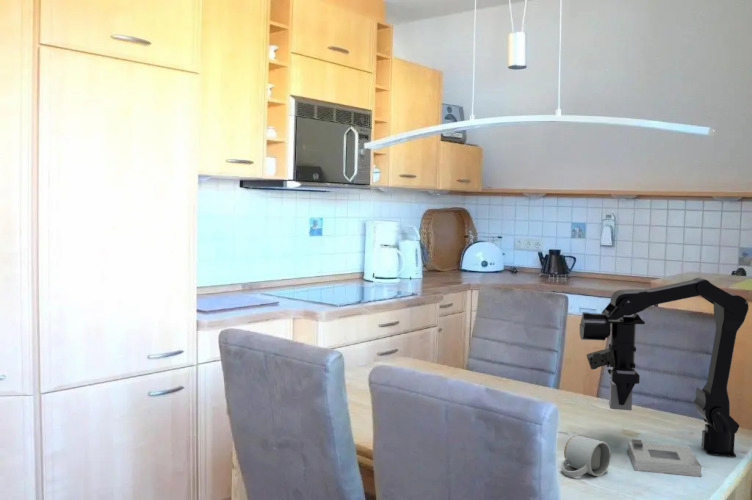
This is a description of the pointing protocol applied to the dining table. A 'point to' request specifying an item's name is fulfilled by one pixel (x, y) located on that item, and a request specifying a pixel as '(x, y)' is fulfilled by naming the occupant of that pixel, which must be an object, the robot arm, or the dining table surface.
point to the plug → (614, 399)
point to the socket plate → (663, 458)
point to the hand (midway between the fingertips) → (620, 402)
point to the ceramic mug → (586, 456)
